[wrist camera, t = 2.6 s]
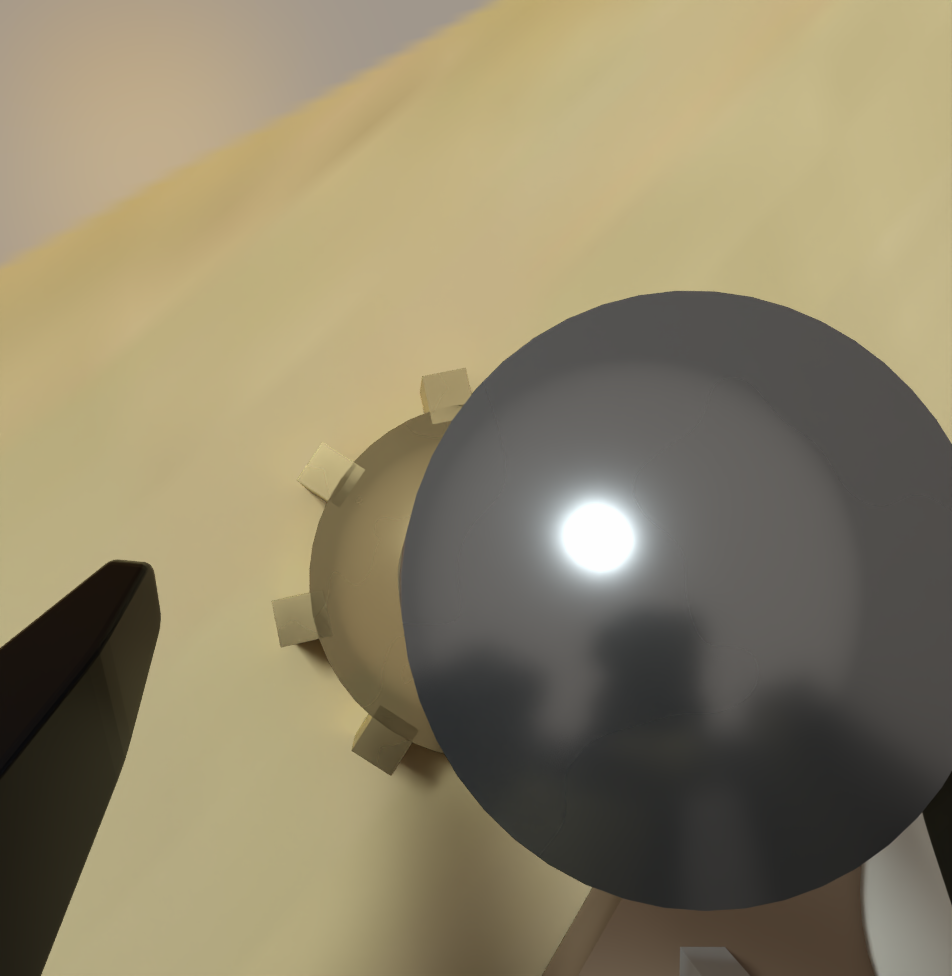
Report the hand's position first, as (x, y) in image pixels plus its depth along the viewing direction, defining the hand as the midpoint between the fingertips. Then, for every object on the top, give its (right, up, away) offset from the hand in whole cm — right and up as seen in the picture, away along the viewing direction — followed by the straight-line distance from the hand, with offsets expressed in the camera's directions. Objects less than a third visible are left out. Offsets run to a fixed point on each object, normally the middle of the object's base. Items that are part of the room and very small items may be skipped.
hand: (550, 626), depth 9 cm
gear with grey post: (-1, 0, +8) cm, 8 cm away
